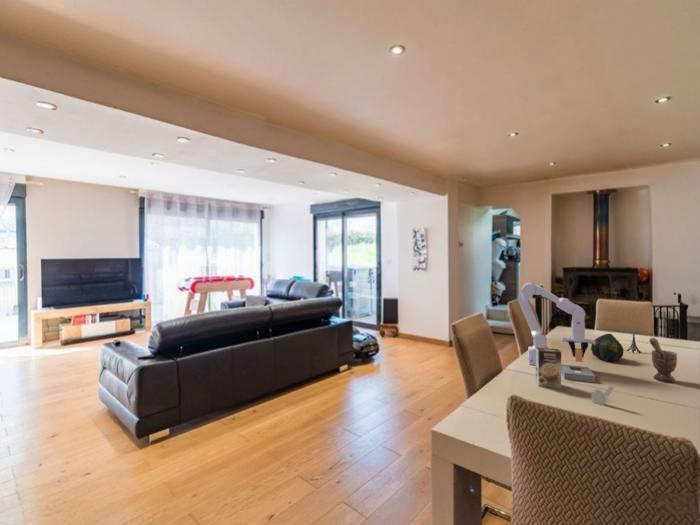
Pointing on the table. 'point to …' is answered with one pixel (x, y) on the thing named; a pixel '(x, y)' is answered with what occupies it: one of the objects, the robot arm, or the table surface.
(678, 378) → the table surface
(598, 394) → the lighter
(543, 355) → the coffee box
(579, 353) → the plug
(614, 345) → the squash
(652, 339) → the mortar and pestle
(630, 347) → the eiffel tower figurine
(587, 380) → the grey flat block
